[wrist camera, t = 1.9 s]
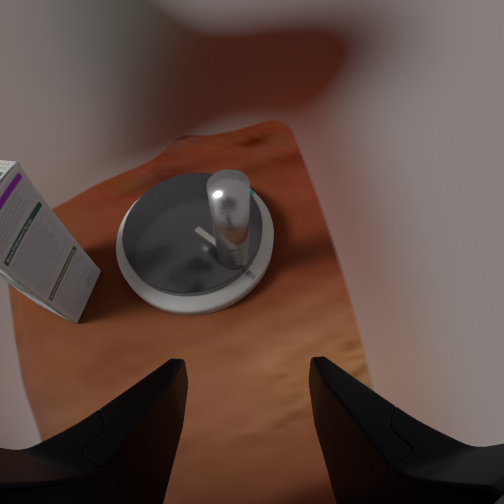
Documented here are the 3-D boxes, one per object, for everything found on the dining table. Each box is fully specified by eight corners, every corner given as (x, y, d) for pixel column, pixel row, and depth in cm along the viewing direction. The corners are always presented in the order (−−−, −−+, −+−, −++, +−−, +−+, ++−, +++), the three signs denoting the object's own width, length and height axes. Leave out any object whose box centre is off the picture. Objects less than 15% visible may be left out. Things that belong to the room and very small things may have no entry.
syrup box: (103, 270, 26) (21, 154, 13) (77, 327, 23) (-36, 236, 10) (61, 255, 26) (-18, 152, 14) (36, 307, 23) (-65, 219, 11)
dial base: (276, 315, 24) (278, 308, 22) (109, 312, 24) (101, 305, 22) (268, 182, 31) (269, 171, 30) (137, 187, 31) (133, 176, 29)
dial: (193, 327, 22) (162, 272, 14) (101, 240, 25) (58, 171, 18) (290, 222, 26) (304, 142, 19) (193, 163, 30) (180, 88, 22)
